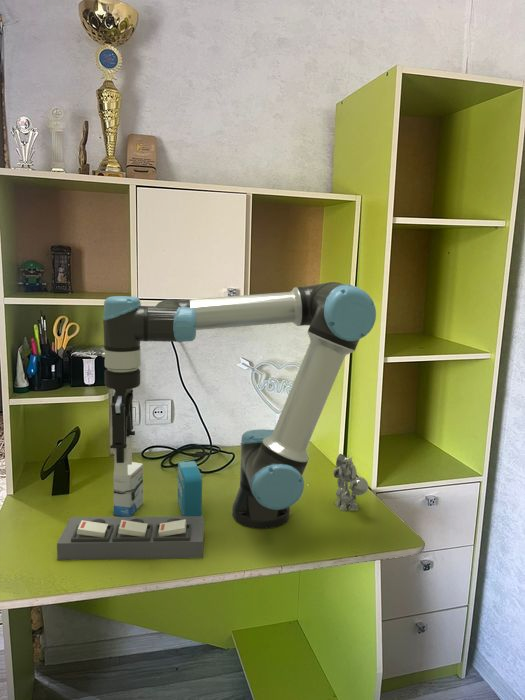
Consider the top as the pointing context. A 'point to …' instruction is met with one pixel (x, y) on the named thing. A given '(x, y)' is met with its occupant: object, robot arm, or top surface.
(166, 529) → the rocker
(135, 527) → the middle rocker
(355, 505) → the robot toy
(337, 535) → the top surface
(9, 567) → the top surface
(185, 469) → the data package
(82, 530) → the rocker
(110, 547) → the rocker switch panel
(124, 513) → the ink box
